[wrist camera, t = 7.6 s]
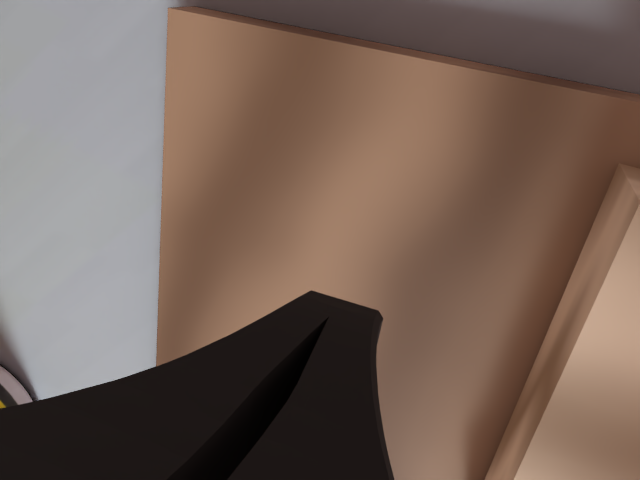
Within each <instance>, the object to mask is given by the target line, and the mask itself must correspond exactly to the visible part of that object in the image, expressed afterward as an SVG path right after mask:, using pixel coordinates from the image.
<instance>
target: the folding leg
mask: <svg viewBox="0 0 640 480" xmlns="http://www.w3.org/2000/svg"><path fill="white" fill-rule="evenodd" d="M485 480H640V168H636V167H632V166H628V165H624V164H618V167H617V169H616V171H615V174H614V176H613V179H612V181H611V183H610V186H609V188H608V190H607V193H606V195H605V197H604V200H603V202H602V204H601V207H600V209H599V211H598V214H597V216H596V219H595V221H594V223H593V226H592V228H591V230H590V233H589V235H588V237H587V240H586V242H585V244H584V247H583V249H582V251H581V254H580V256H579V259H578V261H577V263H576V266H575V268H574V270H573V273H572V275H571V277H570V280H569V282H568V284H567V287H566V289H565V291H564V294H563V296H562V299H561V301H560V303H559V306H558V308H557V310H556V313H555V315H554V317H553V320H552V322H551V324H550V327H549V329H548V331H547V334H546V336H545V339H544V341H543V343H542V346H541V348H540V350H539V353H538V355H537V357H536V360H535V362H534V364H533V367H532V369H531V371H530V374H529V376H528V379H527V381H526V383H525V386H524V388H523V390H522V393H521V395H520V397H519V400H518V402H517V404H516V407H515V409H514V411H513V414H512V416H511V419H510V421H509V423H508V426H507V428H506V430H505V433H504V435H503V437H502V440H501V442H500V444H499V447H498V449H497V452H496V454H495V456H494V459H493V461H492V463H491V466H490V468H489V470H488V473H487V475H486V477H485Z"/></svg>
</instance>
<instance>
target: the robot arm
mask: <svg viewBox="0 0 640 480" xmlns="http://www.w3.org/2000/svg"><path fill="white" fill-rule="evenodd" d="M382 322H383V317H382V315H381V314H380V312H379V310H375V309H372V308H369V307H365V306H362V305H359V304H355V303H352V302H349V301H345V300H342V299H339V298H335V297H332V296H329V295H325V294H322V293H319V292H316V291H312V290H311V291H309V292H307V293H305V294H303V295H301V296H300V297H298V298H296V299H294V300H292V301H290V302H289V303H287V304H285V305H283V306H282V307H280V308H278V309H276V310H275V311H273V312H271V313H269V314H267V315H266V316H264V317H262V318H260V319H258V320H257V321H255V322H253V323H251V324H249V325H247V326H245V327H243V328H241V329H239V330H238V331H236V332H234V333H232V334H230V335H228V336H226V337H224V338H222V339H219V340H217V341H215V342H213V343H211V344H209V345H206V346H204V347H202V348H200V349H198V350H195V351H193V352H191V353H189V354H187V355H184V356H182V357H179V358H177V359H175V360H172V361H169V362H167V363H164V364H162V365H159V366H156V367H153V368H150V369H148V370H145V371H142V372H139V373H136V374H133V375H130V376H127V377H124V378H121V379H118V380H115V381H111V382H107V383H104V384H100V385H96V386H93V387H89V388H85V389H81V390H78V391H74V392H70V393H67V394H63V395H59V396H56V397H52V398H47V399H43V400H39V401H34V402H29V403H24V404H20V405H15V406H10V407H5V408H0V480H394V476H393V472H392V468H391V464H390V460H389V455H388V451H387V446H386V441H385V436H384V431H383V424H382V418H381V411H380V404H379V396H378V383H377V367H376V353H377V343H378V339H379V335H380V330H381V326H382Z"/></svg>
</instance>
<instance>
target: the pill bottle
mask: <svg viewBox="0 0 640 480" xmlns="http://www.w3.org/2000/svg"><path fill="white" fill-rule="evenodd" d="M29 402H33V401H32V399H31V397H30V396H29V394H28V393H27V391H26V390H25V389H24V387H23V386H22V385H21V384H20V383H19V382H18V381H17V380H16V378H15V377H13V376H12V375H11V374H10V373H9V372H8V371H7V370H5V369H4V368H3V367H1V366H0V408H5V407H10V406H15V405H20V404H24V403H29Z"/></svg>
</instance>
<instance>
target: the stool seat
mask: <svg viewBox="0 0 640 480" xmlns="http://www.w3.org/2000/svg"><path fill="white" fill-rule="evenodd" d="M618 164H624V165H628V166H632V167H636V168H640V95H639V94H634V93H629V92H624V91H619V90H614V89H609V88H604V87H599V86H594V85H589V84H584V83H578V82H573V81H568V80H563V79H558V78H553V77H548V76H543V75H538V74H533V73H528V72H523V71H518V70H513V69H508V68H503V67H498V66H493V65H488V64H483V63H477V62H472V61H467V60H462V59H457V58H452V57H447V56H442V55H437V54H432V53H427V52H422V51H417V50H412V49H407V48H402V47H397V46H392V45H387V44H382V43H376V42H371V41H366V40H361V39H356V38H351V37H346V36H341V35H336V34H331V33H326V32H321V31H316V30H311V29H306V28H301V27H296V26H291V25H286V24H281V23H275V22H270V21H265V20H260V19H255V18H250V17H245V16H240V15H235V14H230V13H225V12H220V11H215V10H210V9H205V8H200V7H195V6H191V7H174V8H168V26H167V56H166V86H165V116H164V146H163V177H162V207H161V237H160V267H159V297H158V327H157V357H156V366H159V365H162V364H164V363H167V362H169V361H172V360H175V359H177V358H179V357H182V356H184V355H187V354H189V353H191V352H193V351H195V350H198V349H200V348H202V347H204V346H206V345H209V344H211V343H213V342H215V341H217V340H219V339H222V338H224V337H226V336H228V335H230V334H232V333H234V332H236V331H238V330H239V329H241V328H243V327H245V326H247V325H249V324H251V323H253V322H255V321H257V320H258V319H260V318H262V317H264V316H266V315H267V314H269V313H271V312H273V311H275V310H276V309H278V308H280V307H282V306H283V305H285V304H287V303H289V302H290V301H292V300H294V299H296V298H298V297H300V296H301V295H303V294H305V293H307V292H309V291H311V290H312V291H316V292H319V293H322V294H325V295H329V296H332V297H335V298H339V299H342V300H345V301H349V302H352V303H355V304H359V305H362V306H365V307H369V308H372V309H375V310H379V312H380V314H381V315H382V317H383V322H382V326H381V330H380V335H379V339H378V343H377V353H376V367H377V383H378V396H379V404H380V411H381V418H382V424H383V431H384V436H385V441H386V446H387V451H388V455H389V460H390V464H391V468H392V472H393V476H394V480H485V477H486V475H487V473H488V470H489V468H490V466H491V463H492V461H493V459H494V456H495V454H496V452H497V449H498V447H499V444H500V442H501V440H502V437H503V435H504V433H505V430H506V428H507V426H508V423H509V421H510V419H511V416H512V414H513V411H514V409H515V407H516V404H517V402H518V400H519V397H520V395H521V393H522V390H523V388H524V386H525V383H526V381H527V379H528V376H529V374H530V371H531V369H532V367H533V364H534V362H535V360H536V357H537V355H538V353H539V350H540V348H541V346H542V343H543V341H544V339H545V336H546V334H547V331H548V329H549V327H550V324H551V322H552V320H553V317H554V315H555V313H556V310H557V308H558V306H559V303H560V301H561V299H562V296H563V294H564V291H565V289H566V287H567V284H568V282H569V280H570V277H571V275H572V273H573V270H574V268H575V266H576V263H577V261H578V259H579V256H580V254H581V251H582V249H583V247H584V244H585V242H586V240H587V237H588V235H589V233H590V230H591V228H592V226H593V223H594V221H595V219H596V216H597V214H598V211H599V209H600V207H601V204H602V202H603V200H604V197H605V195H606V193H607V190H608V188H609V186H610V183H611V181H612V179H613V176H614V174H615V171H616V169H617V167H618Z"/></svg>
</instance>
